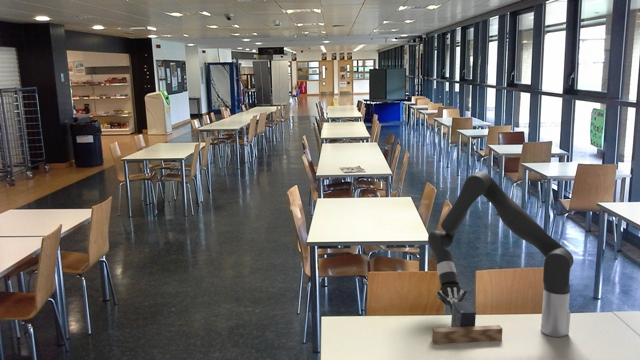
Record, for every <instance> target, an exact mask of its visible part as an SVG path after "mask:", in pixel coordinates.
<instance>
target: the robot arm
mask: <svg viewBox="0 0 640 360" xmlns="http://www.w3.org/2000/svg"><path fill="white" fill-rule="evenodd" d="M481 196H483V197H484V198H485V199H486V200H487V201H488V202H490V203H491V205H492V206H493V207H494V209H495V211H496V212H497V214H498V217H499V219H500V220H501V222H502V223H503V224H504V225H505V226H506V227H507V228H508V229H509V230H510V232H512V233H513V234H514V235H515V236H517V238H519V239H521V240H522V241H525V242H526V243H528V244H530V245H531V246H533V247H535V248H536V249H537V250H538V252H540V253H541V254H542V255H543V257H544V262H543V273H542V275H543V277H542V283H543V292H542V293H543V294H542V295H543V296H542V309H541V322H540V331H541V333H543V334H544V335H547V336H548V337H552V338H553V337H554V338H562V337H565V336H568V335H569V334H570V323H571V310H569V309H570V307H569V305H570V294H571V293H570V291H571V284H570V275H571V274H570V273H571V268H572V267H573V265H574V261H575V260H574V257H573V254H572V253H571V252H570V250H569V249H567V248H566V247H565V246H563V245H562V244H561V243H560V242H559V241H557V240H556V239H555V238H553V236H551V235H550V234H549V233H547V231H545V230H544V228H543V227H542V226H540V224H539V223H538V222H536V221H535V219H534V218H533V217H531V216H530V214H529V213H527V211H526V210H524V208H522V207H521V206H520V205H519V204H518V203H517V202H516V201H514V199H512V197H510V196H509V195H508V194H507V193H506V192H505V191H504V190H503V189H502V188H501V186H500V185H499V184H498V183H497V182H496V181H495V179H494V178H493V177H492V176H491V175H490V174H489V173H487V172H486V171H482V170H481V171H479V170H478V171H475V172H474V173H471V174H470V175H469V176H467V177H466V179H465V181H464V183H463V185H462V188H461V189H460V193H459V195H458V197H457V198H456V201H454V203H453V205H452V206H451V208H450V209H449V211H448V212H447V214H446V216H445V217H444V219H443V220H442V222H441V223H440V227H441V229H442V230H443V231H440V230H432V231H430V232H429V233H428V236H427V242H428V245H429V248H430V250H431V252H432V254H433V256H434V258H435V261H436V262H435V263H436V269H437V270H436V271H437V276H438V280H439V285H440V289H439V291H437V292H436V294H435V296H436V297H437V298H438V300H439V301H441V303H443V304H444V305H445V306H449V308H450V313H451V314H452V302H463V300H464V299H465V297H466V295H467V293H468V292H467V291H466V290H463V289H462V287H461V286H460V284H459V279H458V275H457V269H456V265H455V263H454V259H453V255H452V252H451V250H448V248H450V247H451V246H452V245H453V243H454V239H455V236H456V234H457V231H458V229H459V228H460V227H461V225H462V223H463V222H464V220H465V219H466V216H467V214H468V211H469V210H470V208H471V206H472V205H473V204H474V202H476V200H478V199H479V197H481ZM459 294H460V297H459V299H458V296H459Z"/></svg>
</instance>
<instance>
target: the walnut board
mask: <svg viewBox="0 0 640 360" xmlns="http://www.w3.org/2000/svg"><path fill="white" fill-rule="evenodd" d="M431 334H432V336H431V340H432V342H433V344H434V345H449V344H467V343H468V344H469V343H470V344H471V343H487V342H502V341H503V327H502V326H501V325H499V324H493V325H475V326H469V327H451V326H450V327H432V333H431Z"/></svg>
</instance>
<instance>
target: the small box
mask: <svg viewBox="0 0 640 360" xmlns="http://www.w3.org/2000/svg"><path fill="white" fill-rule="evenodd" d="M476 315H477V312H476V311H475V309H474V308H473V307H472V306H471V305H470V304H469V302H467V301H462V302H452V313H451V320H450V321H451V323H450V327H469V326H476V318H477V317H476Z"/></svg>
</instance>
